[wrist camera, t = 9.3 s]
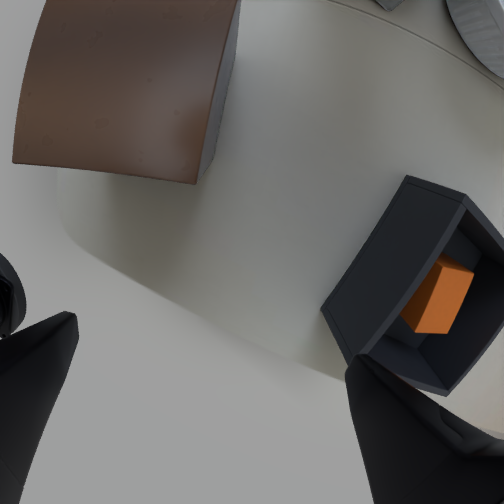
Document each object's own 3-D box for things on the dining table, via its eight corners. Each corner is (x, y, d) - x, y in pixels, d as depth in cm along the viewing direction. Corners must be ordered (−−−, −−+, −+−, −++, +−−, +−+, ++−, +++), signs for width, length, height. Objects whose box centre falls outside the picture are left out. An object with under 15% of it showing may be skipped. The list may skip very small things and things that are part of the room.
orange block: (422, 307, 23) (447, 334, 19) (390, 304, 23) (414, 332, 19) (444, 253, 21) (474, 273, 18) (413, 245, 21) (443, 266, 17)
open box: (413, 351, 26) (446, 397, 19) (319, 308, 23) (347, 366, 17) (484, 248, 22) (533, 279, 16) (406, 174, 20) (466, 193, 13)
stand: (212, 160, 18) (196, 185, 9) (106, 146, 17) (11, 163, 8) (236, 53, 16) (243, -21, 7) (127, 42, 15) (52, -17, 6)
